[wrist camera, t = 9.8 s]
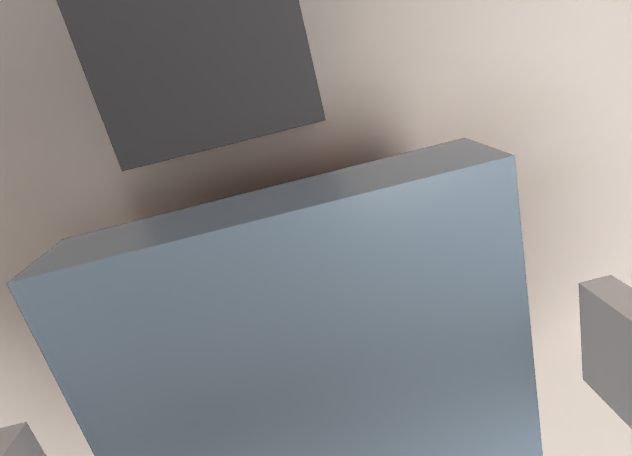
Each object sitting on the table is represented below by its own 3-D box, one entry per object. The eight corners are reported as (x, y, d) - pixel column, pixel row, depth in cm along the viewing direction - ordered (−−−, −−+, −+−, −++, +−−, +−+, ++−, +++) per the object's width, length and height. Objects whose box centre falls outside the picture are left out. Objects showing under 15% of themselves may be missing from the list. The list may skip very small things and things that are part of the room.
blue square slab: (63, 239, 11) (5, 283, 9) (464, 137, 11) (514, 155, 9) (194, 529, 14) (178, 618, 12) (505, 451, 14) (549, 525, 12)
